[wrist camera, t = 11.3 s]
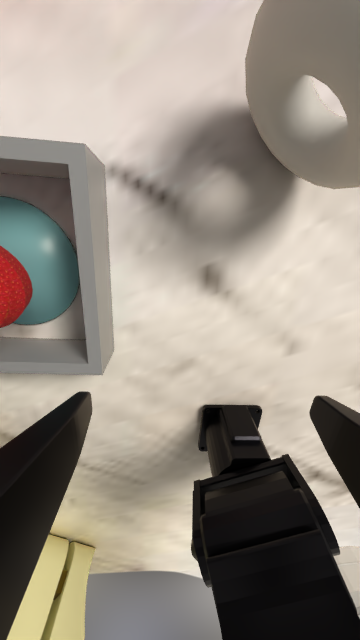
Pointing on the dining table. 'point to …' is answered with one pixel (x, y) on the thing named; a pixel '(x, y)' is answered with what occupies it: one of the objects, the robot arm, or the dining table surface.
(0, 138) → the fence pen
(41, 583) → the slatted curved stool
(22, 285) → the strawberry
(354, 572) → the dish
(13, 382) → the dining table surface
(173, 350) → the dining table surface
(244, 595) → the robot arm
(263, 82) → the donut
